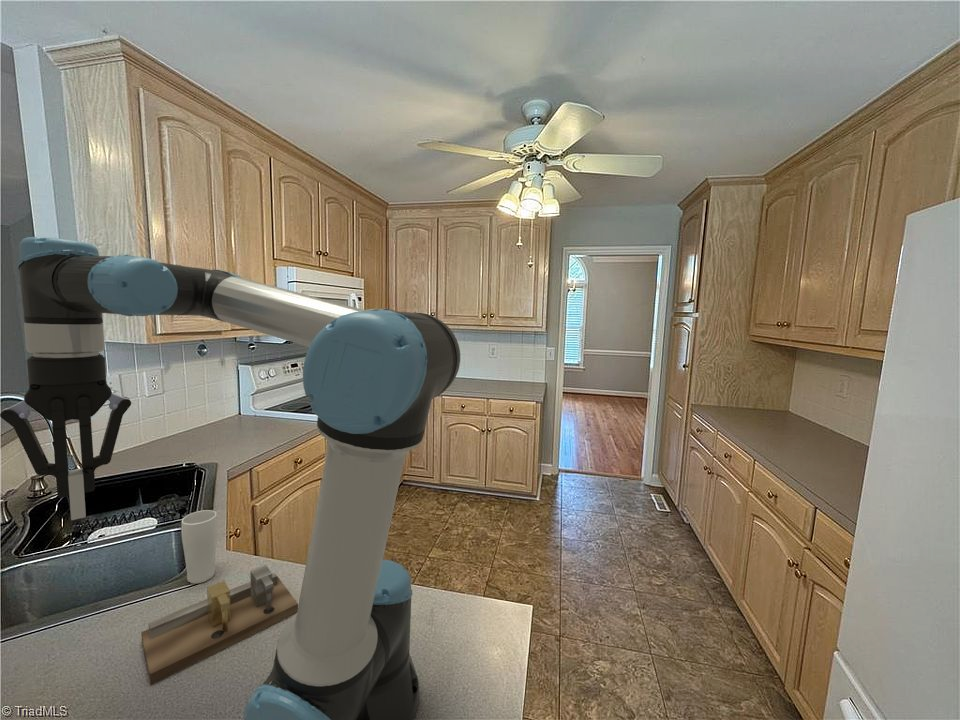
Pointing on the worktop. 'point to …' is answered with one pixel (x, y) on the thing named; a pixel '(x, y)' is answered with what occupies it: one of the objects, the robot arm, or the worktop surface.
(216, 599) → the sliding leg
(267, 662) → the worktop surface
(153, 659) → the hole board
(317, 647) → the robot arm
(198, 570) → the drinking glass
